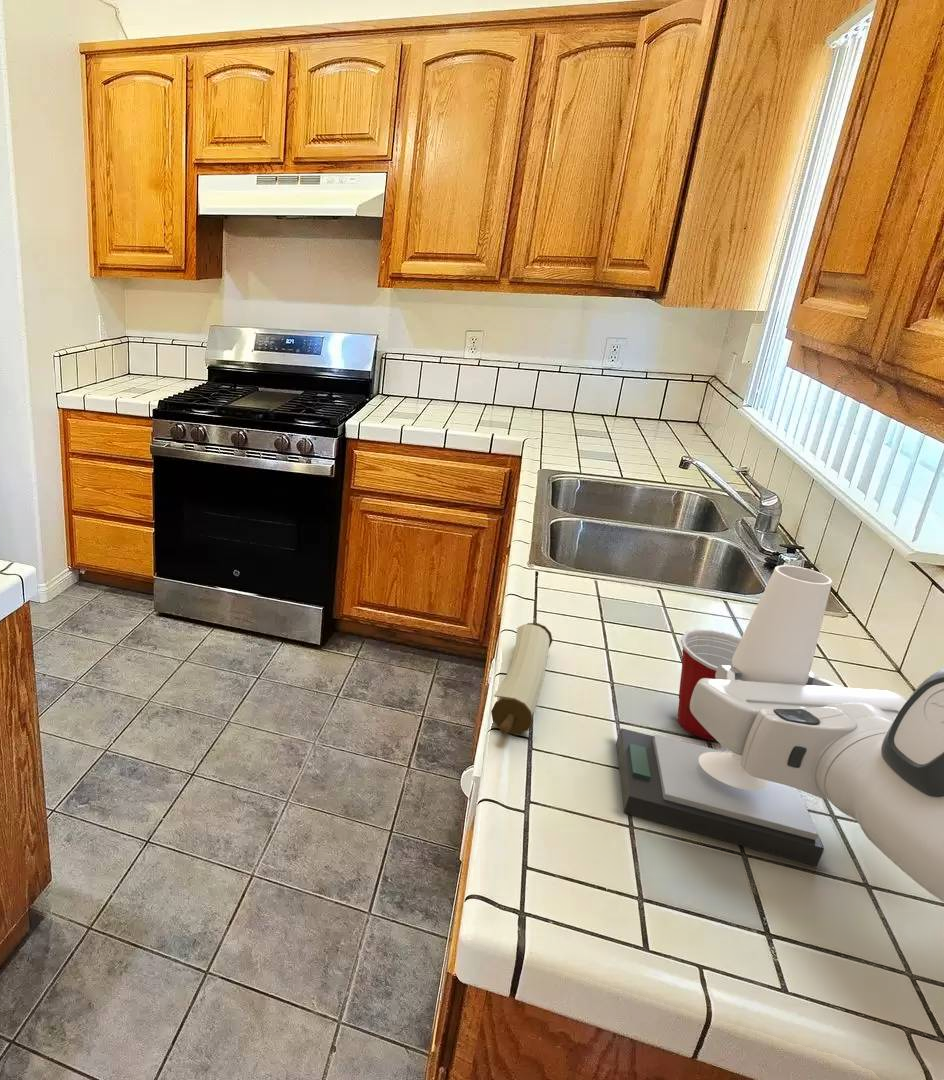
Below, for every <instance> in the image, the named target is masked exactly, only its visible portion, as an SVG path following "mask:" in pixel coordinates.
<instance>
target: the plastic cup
mask: <svg viewBox="0 0 944 1080" xmlns="http://www.w3.org/2000/svg"><path fill="white" fill-rule="evenodd" d="M741 638H742V637H739V636H737V635H734V634H731V633H729V632H728V633H727V632H723V631H720V630H719V631H718V630H715V629H701V628H700V629H697V628H695V629H691V630H688V631H685V632H684V634H683V635H682V636H681V637H680V642H681V646H682V652H681V653H682V656H681V661H682V663H681V670H680V671H681V673H680V681H679V689H678V690H679V691H678V699H679V700H678V706H677V707H678V709H677V721H678V725H679V726H680V727H681V728H682V729H683V730H684V731H686V732H688V733H689V734H691V735H692V736H695V737H698V738H700V739H702V740H703V739H704V740H708V741H717V740H716V739H715V738H714V737H713V736H712V735H711V734H710V733H709V732H708V731H707V730H706V729H705V728H704V727H703V726H702V725H701V724H700V723H699V722H698V720H697V719H696V718H695V717H694V716H693V714H692V713H691V711H690V701H691V697H692V694H693V691H694V688H695V686H696V684H697V683H698V681H699V680H700V679H702V678H710V679H716V678H715V674H716V671H717V668H718V666H719V665H725V666H733V665H732V658H733V655H734V653H735V651H736V649H737V647H738V645H739V643H740V641H741Z"/></svg>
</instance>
